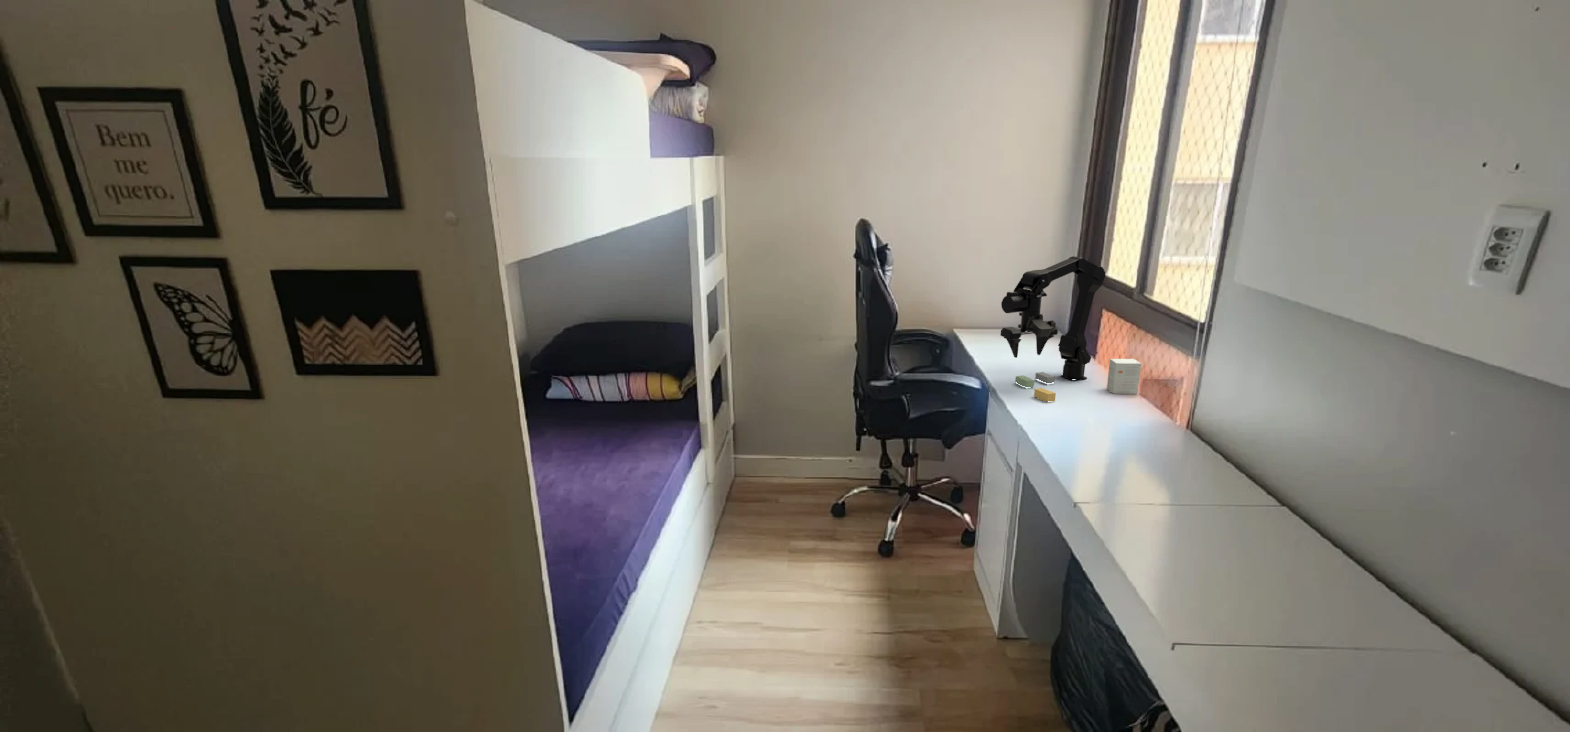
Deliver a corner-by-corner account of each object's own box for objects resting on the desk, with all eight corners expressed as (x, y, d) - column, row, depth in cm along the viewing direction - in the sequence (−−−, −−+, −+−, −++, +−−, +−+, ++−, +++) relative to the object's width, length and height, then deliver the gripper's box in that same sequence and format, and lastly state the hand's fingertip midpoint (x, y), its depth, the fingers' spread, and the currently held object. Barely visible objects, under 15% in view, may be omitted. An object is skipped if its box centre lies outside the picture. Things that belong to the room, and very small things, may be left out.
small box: (1131, 389, 225) (1135, 358, 222) (1137, 394, 220) (1142, 363, 217) (1105, 388, 226) (1109, 358, 223) (1112, 393, 221) (1116, 362, 218)
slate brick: (1035, 381, 236) (1035, 372, 235) (1042, 380, 237) (1042, 371, 236) (1046, 385, 230) (1047, 377, 229) (1053, 384, 231) (1054, 376, 230)
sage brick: (1014, 384, 232) (1015, 376, 231) (1022, 383, 233) (1023, 375, 232) (1026, 389, 227) (1026, 380, 226) (1033, 388, 228) (1034, 380, 227)
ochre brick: (1033, 397, 218) (1034, 389, 217) (1041, 396, 219) (1041, 387, 219) (1047, 403, 213) (1048, 394, 212) (1054, 402, 214) (1055, 393, 213)
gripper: (1022, 317, 213) (1018, 365, 217) (1071, 312, 218) (1066, 359, 222) (1001, 310, 223) (997, 356, 227) (1048, 306, 228) (1044, 351, 233)
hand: (1027, 356), depth 227 cm, fingers open, 9 cm apart
